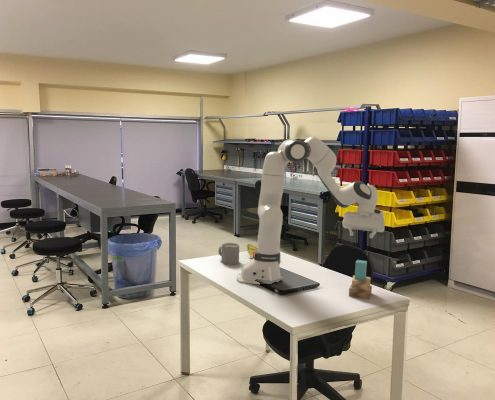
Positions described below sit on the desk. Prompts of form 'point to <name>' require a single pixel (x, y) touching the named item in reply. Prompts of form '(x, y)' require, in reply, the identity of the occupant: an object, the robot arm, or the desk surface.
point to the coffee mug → (229, 253)
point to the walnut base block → (360, 293)
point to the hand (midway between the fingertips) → (361, 236)
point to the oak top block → (361, 284)
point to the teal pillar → (360, 270)
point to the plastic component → (251, 249)
